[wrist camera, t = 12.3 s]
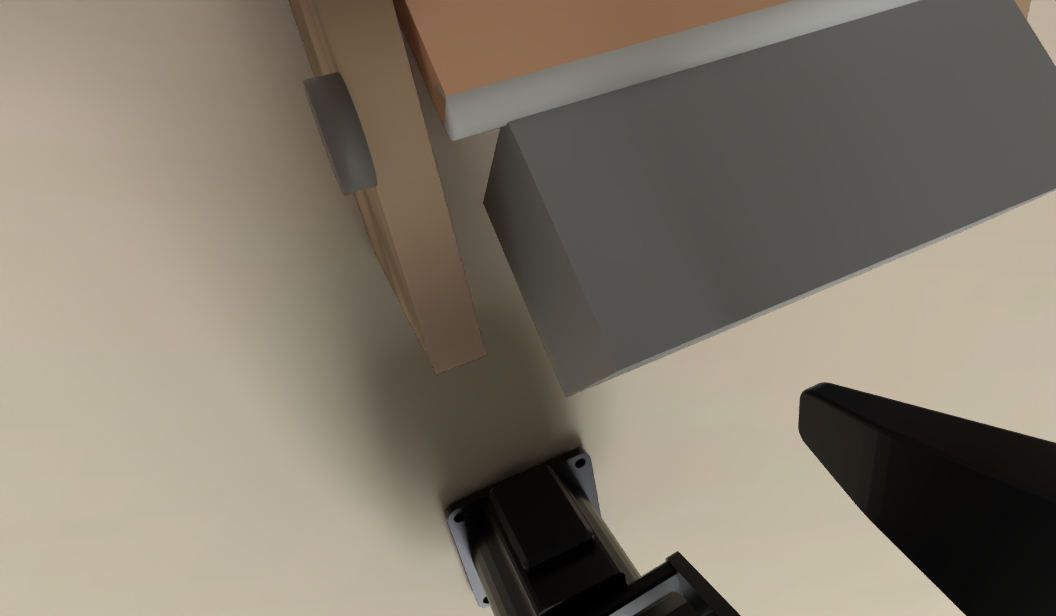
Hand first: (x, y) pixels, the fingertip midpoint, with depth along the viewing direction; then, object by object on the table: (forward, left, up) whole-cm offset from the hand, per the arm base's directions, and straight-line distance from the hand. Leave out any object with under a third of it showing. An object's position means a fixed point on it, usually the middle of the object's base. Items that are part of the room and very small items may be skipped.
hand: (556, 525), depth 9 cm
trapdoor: (+4, -8, -10) cm, 13 cm away
